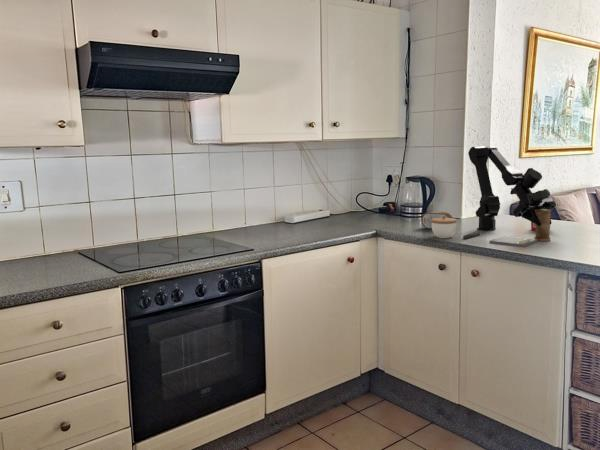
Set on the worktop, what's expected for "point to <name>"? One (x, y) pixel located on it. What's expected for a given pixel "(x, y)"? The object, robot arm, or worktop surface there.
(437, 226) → the lidded jar
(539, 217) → the mill
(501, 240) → the panel
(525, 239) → the set of cream blocks
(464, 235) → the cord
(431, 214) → the tan curved piece
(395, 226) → the worktop surface
